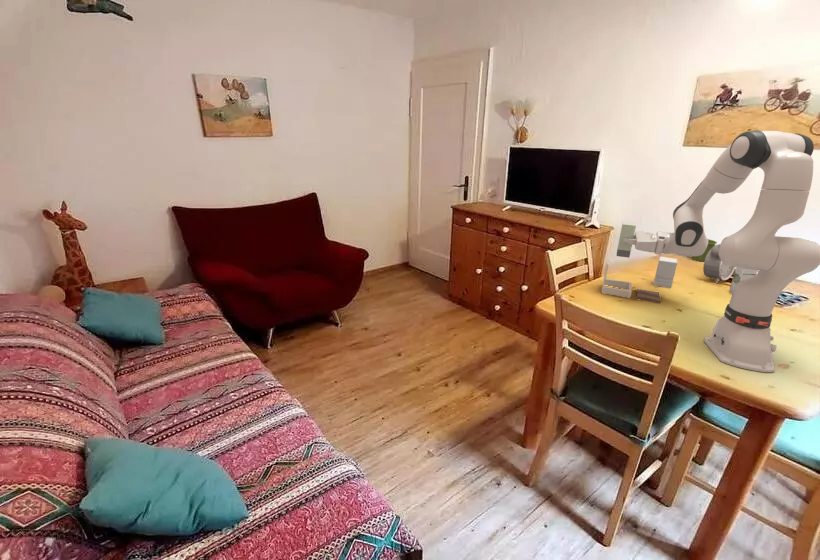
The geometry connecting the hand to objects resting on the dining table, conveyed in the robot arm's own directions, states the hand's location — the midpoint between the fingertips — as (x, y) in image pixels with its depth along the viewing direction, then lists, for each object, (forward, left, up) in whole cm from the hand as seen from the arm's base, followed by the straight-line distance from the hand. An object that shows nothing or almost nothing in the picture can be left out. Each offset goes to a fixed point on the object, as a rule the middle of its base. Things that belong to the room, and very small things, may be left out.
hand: (623, 238), depth 177 cm
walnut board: (0, -14, -25) cm, 29 cm away
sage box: (0, -1, -7) cm, 8 cm away
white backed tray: (0, -1, -25) cm, 25 cm away
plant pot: (+74, -43, -25) cm, 89 cm away
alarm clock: (+39, -45, -25) cm, 65 cm away
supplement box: (+20, -21, -25) cm, 38 cm away
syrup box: (+22, -51, -25) cm, 61 cm away
